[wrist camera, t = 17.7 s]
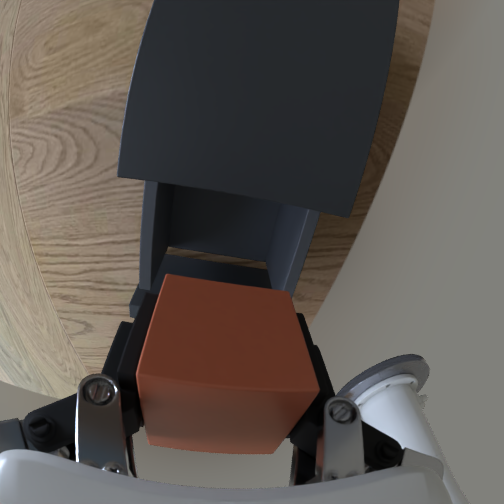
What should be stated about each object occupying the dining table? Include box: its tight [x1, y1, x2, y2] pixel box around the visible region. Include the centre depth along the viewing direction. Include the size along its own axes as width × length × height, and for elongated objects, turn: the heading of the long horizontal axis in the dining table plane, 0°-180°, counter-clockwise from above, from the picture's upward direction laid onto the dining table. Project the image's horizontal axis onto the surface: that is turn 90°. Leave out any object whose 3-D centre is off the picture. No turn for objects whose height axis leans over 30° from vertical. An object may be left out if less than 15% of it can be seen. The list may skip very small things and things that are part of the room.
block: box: [136, 274, 320, 454], centre depth 9 cm, size 5×5×5 cm
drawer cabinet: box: [117, 0, 399, 218], centre depth 15 cm, size 15×13×10 cm
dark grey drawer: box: [129, 181, 320, 318], centre depth 20 cm, size 18×11×8 cm, turn 168°
